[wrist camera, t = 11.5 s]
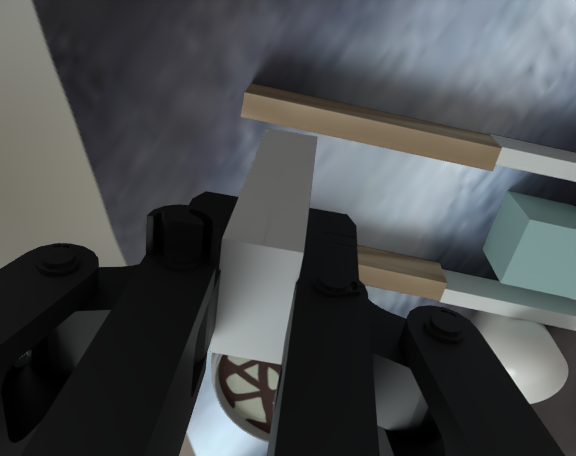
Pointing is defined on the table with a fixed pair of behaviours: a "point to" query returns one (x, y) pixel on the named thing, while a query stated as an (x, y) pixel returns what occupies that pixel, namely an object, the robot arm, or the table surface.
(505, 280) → the pale teal block
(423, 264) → the guide channel
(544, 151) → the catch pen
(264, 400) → the food container
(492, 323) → the white rounded capsule
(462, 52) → the table surface
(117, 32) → the table surface
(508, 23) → the table surface
